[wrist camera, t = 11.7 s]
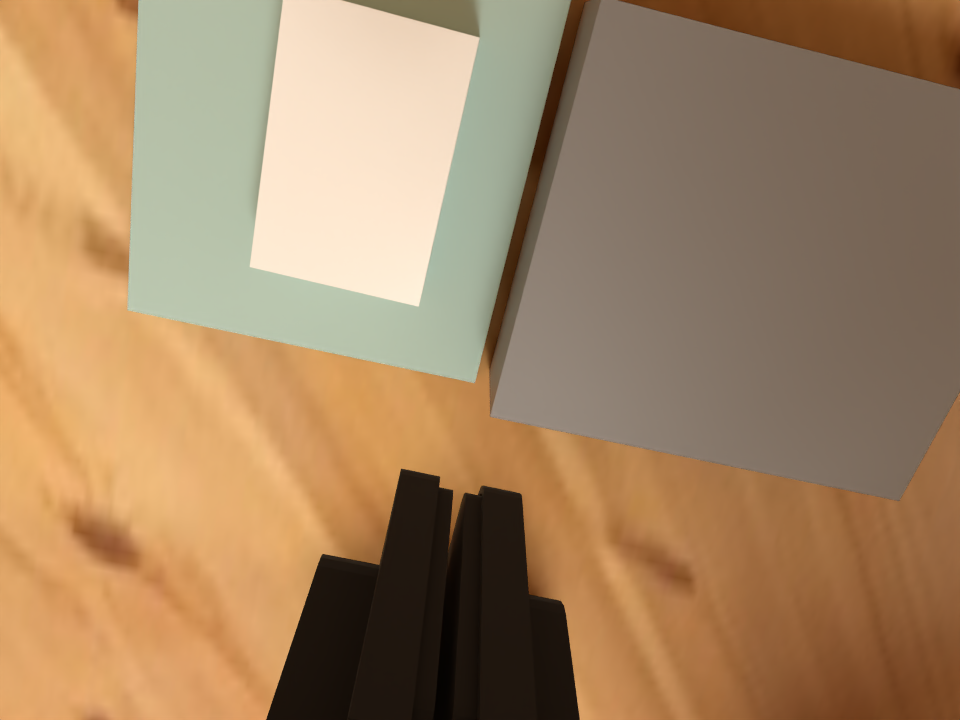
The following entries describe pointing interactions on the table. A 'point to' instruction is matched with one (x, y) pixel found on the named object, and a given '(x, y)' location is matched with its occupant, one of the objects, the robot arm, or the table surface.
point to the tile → (359, 146)
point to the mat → (238, 165)
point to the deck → (739, 256)
